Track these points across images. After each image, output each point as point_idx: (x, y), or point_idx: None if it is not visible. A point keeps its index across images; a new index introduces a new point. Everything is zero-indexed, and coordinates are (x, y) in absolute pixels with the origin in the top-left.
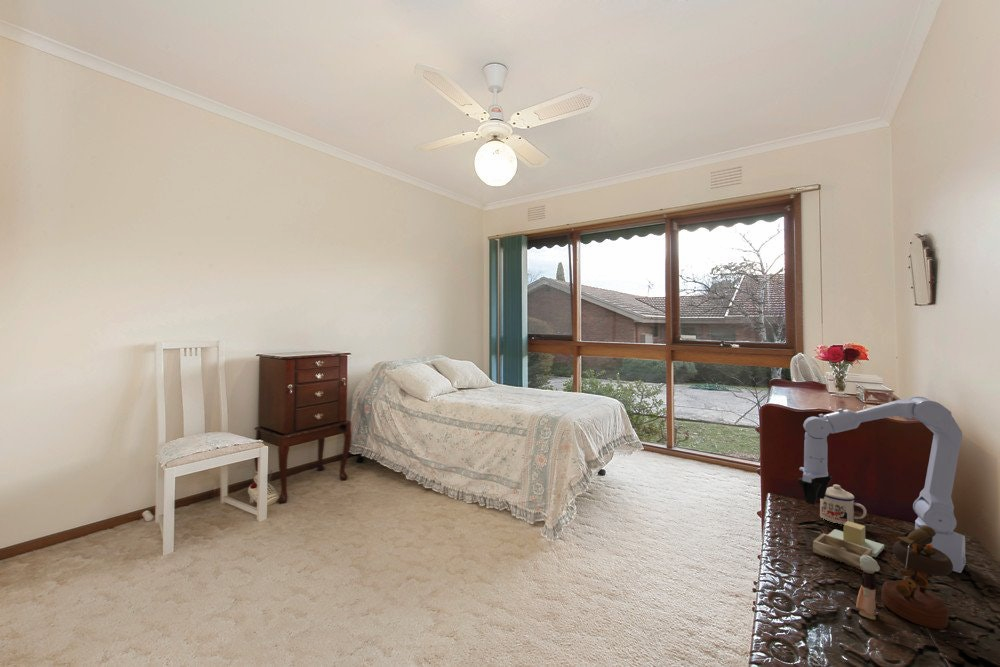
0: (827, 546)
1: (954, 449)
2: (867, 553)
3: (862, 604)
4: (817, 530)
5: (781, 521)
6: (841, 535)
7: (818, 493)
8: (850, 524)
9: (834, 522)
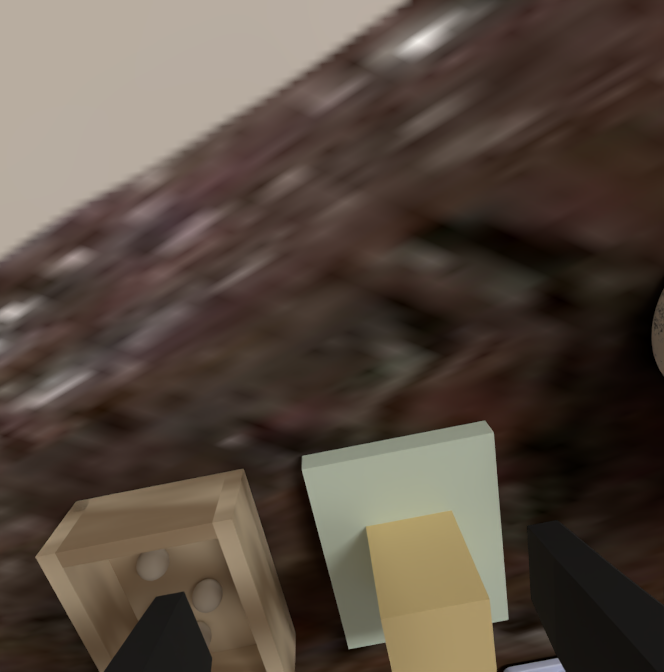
0: (68, 614)
1: None
2: None
3: None
4: (424, 351)
5: (329, 134)
6: (422, 495)
7: (568, 618)
8: (432, 632)
9: (656, 347)
